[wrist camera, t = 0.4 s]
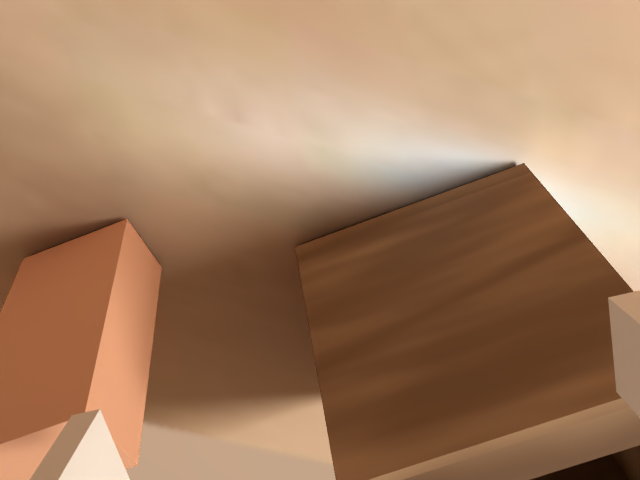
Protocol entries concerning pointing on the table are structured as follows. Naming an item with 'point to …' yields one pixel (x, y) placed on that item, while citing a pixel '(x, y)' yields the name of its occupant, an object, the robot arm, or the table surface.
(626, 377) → the robot arm
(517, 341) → the tip box
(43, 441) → the tall salmon pillar block
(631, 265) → the table surface
